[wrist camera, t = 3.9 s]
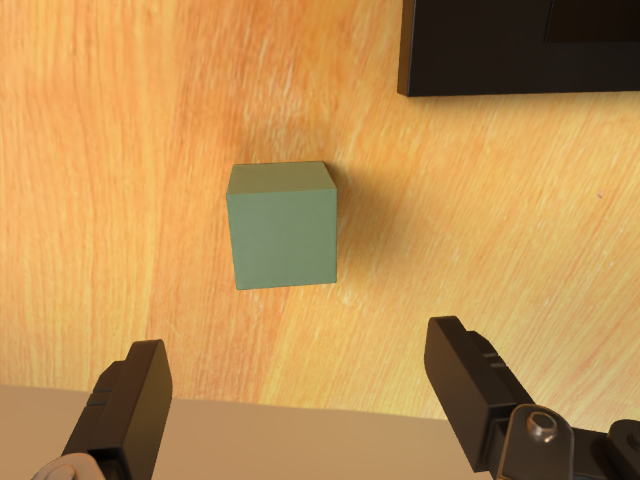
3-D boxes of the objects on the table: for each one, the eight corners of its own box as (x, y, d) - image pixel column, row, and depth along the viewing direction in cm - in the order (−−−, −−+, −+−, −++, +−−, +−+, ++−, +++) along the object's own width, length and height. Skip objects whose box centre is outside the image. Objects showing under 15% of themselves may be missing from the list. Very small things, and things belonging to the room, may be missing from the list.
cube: (240, 246, 25) (236, 290, 21) (232, 164, 23) (225, 194, 18) (323, 240, 26) (336, 283, 21) (323, 160, 23) (337, 188, 19)
